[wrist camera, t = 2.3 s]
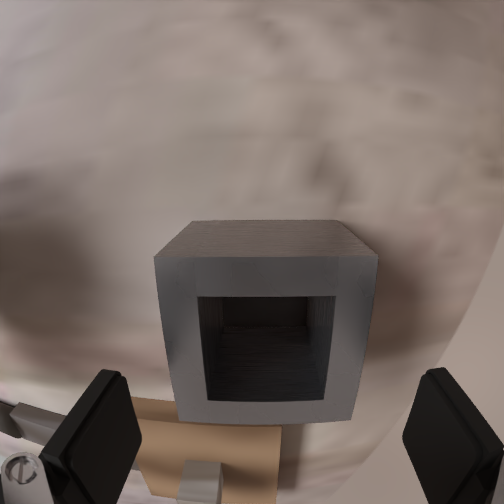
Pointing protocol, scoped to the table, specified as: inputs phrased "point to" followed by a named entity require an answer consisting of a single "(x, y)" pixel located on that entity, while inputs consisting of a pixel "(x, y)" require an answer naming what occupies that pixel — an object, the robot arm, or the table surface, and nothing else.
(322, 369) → the hollow grey cube
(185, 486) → the mallet
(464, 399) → the robot arm
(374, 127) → the table surface
